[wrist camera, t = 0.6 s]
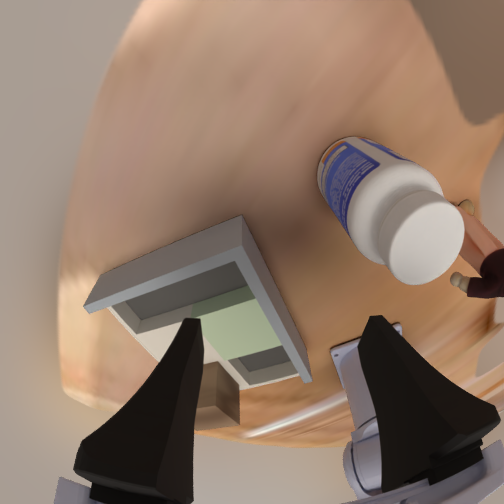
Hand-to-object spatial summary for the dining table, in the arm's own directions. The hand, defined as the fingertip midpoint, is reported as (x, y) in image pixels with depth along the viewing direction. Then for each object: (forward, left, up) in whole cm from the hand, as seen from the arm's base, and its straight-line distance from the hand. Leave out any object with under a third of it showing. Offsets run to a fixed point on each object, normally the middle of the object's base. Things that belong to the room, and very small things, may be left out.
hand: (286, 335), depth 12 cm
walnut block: (-13, +11, -8) cm, 19 cm away
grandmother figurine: (-6, -15, -10) cm, 19 cm away
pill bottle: (+1, -7, -10) cm, 12 cm away
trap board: (-8, +8, -10) cm, 15 cm away
